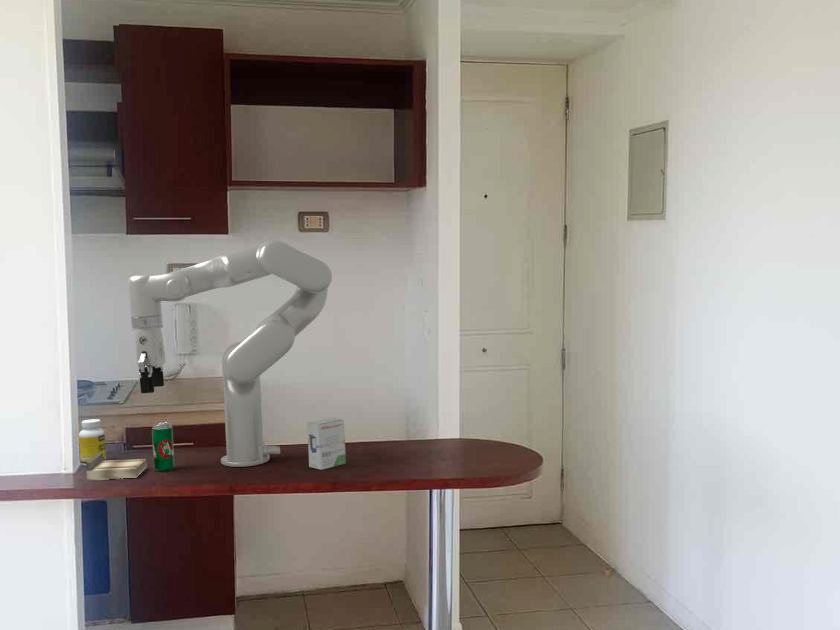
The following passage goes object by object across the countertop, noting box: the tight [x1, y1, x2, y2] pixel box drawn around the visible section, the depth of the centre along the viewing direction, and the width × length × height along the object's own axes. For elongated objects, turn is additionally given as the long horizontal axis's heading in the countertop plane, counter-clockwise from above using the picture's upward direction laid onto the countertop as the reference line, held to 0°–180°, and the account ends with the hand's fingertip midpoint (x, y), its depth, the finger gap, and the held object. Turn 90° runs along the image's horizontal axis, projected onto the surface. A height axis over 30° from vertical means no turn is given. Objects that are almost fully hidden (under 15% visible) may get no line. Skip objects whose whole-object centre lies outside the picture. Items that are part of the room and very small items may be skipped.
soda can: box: [151, 421, 175, 472], centre depth 225 cm, size 5×5×12 cm
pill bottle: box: [78, 418, 107, 466], centre depth 234 cm, size 6×6×12 cm
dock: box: [86, 453, 148, 482], centre depth 222 cm, size 12×10×4 cm
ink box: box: [306, 417, 347, 471], centre depth 225 cm, size 9×5×12 cm, turn 134°
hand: (152, 389), depth 225 cm, fingers open, 9 cm apart
